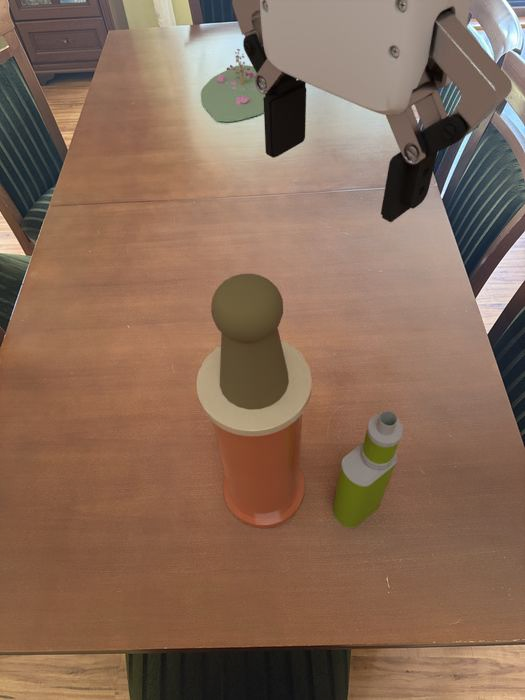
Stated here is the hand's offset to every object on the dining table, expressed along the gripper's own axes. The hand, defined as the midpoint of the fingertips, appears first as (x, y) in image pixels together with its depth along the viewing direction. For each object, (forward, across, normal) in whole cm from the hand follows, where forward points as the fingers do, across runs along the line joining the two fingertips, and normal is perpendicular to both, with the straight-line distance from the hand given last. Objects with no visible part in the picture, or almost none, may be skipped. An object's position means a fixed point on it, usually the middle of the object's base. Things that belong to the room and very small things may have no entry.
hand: (339, 177), depth 33 cm
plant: (+41, +77, -57) cm, 105 cm away
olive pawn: (+17, +2, +7) cm, 19 cm away
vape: (+41, -8, +1) cm, 42 cm away
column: (+41, +2, +7) cm, 42 cm away
